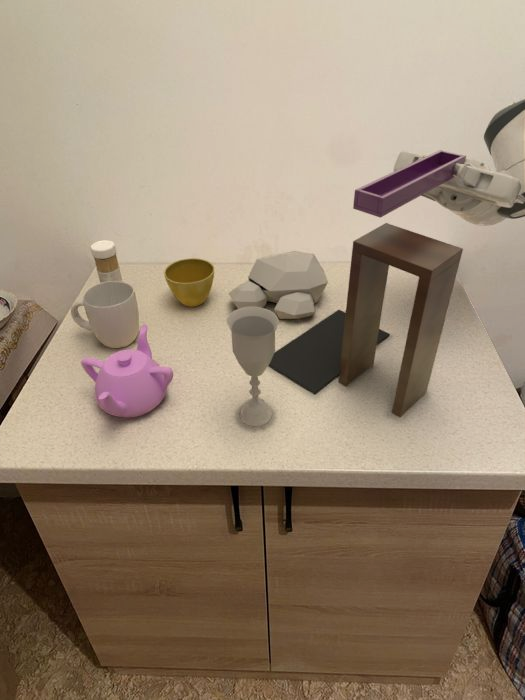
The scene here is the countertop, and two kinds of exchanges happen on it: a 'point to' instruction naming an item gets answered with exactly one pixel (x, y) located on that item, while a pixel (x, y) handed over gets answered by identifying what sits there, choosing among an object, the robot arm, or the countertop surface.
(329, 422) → the countertop surface
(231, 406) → the countertop surface
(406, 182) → the plum dish
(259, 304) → the rock
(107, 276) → the sprinkles bottle
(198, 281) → the mustard yellow bowl
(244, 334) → the chalice
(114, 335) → the mug
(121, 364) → the teapot
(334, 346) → the charcoal mat
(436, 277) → the walnut stand
